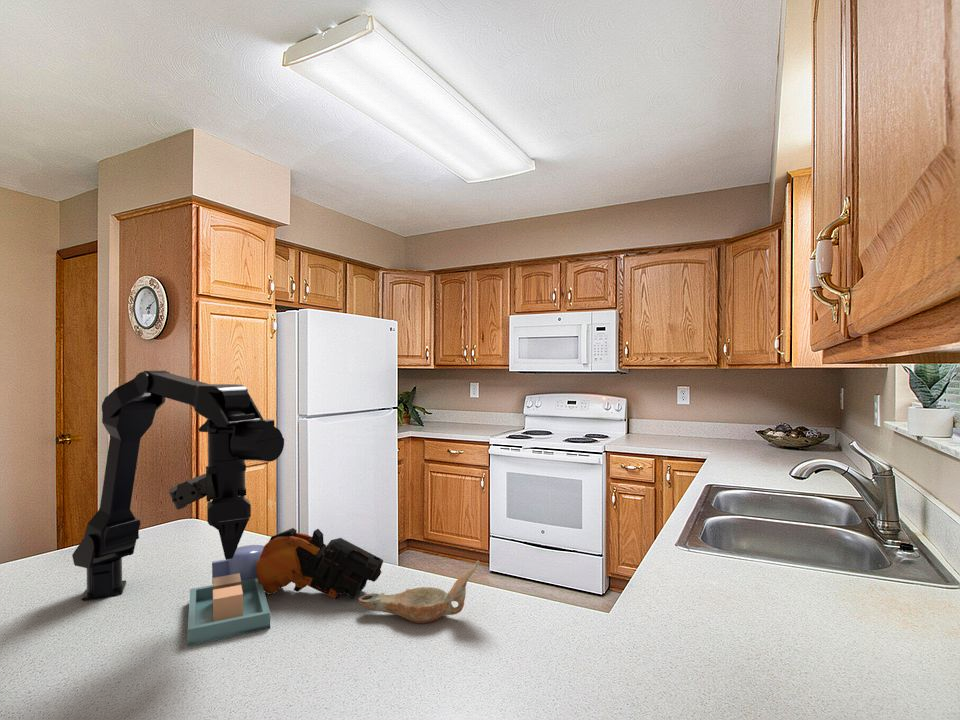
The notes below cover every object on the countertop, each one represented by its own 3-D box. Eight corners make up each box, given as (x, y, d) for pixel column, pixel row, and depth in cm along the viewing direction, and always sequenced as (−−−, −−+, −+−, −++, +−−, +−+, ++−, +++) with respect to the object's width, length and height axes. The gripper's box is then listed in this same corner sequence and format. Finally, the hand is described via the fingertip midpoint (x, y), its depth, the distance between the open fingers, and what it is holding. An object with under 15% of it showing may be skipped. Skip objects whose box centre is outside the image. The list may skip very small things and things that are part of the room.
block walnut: (240, 597, 101) (239, 573, 102) (241, 606, 97) (241, 581, 98) (213, 602, 99) (212, 577, 100) (213, 612, 95) (213, 586, 96)
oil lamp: (476, 632, 88) (475, 569, 88) (349, 625, 91) (348, 565, 91) (484, 609, 96) (483, 551, 96) (368, 603, 99) (367, 548, 100)
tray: (190, 602, 101) (190, 588, 101) (260, 589, 106) (260, 576, 106) (187, 646, 85) (187, 629, 85) (270, 628, 90) (270, 612, 90)
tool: (347, 644, 99) (376, 568, 98) (240, 589, 102) (267, 515, 101) (365, 622, 107) (391, 552, 105) (265, 572, 110) (290, 504, 109)
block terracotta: (241, 610, 96) (241, 584, 96) (243, 620, 92) (242, 593, 92) (213, 616, 94) (212, 589, 94) (213, 627, 90) (213, 599, 90)
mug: (212, 586, 108) (211, 550, 109) (265, 576, 113) (264, 542, 113) (212, 599, 102) (212, 561, 102) (268, 588, 107) (268, 552, 107)
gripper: (175, 455, 98) (176, 543, 98) (169, 472, 81) (170, 577, 81) (242, 450, 103) (243, 533, 103) (250, 465, 86) (251, 564, 86)
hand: (227, 550), depth 93 cm, fingers open, 9 cm apart
